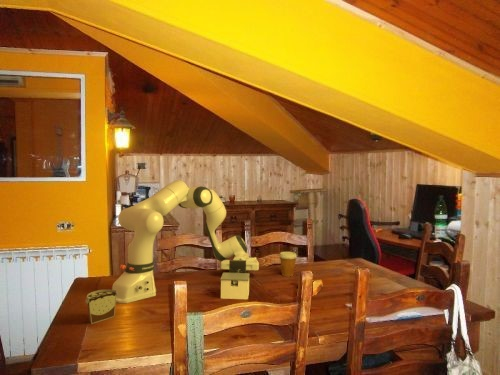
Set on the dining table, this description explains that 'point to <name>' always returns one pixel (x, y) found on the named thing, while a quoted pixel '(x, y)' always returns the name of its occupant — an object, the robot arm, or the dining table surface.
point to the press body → (235, 286)
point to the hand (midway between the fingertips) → (238, 268)
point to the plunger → (237, 267)
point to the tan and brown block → (101, 305)
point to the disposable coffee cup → (287, 263)
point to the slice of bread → (317, 286)
